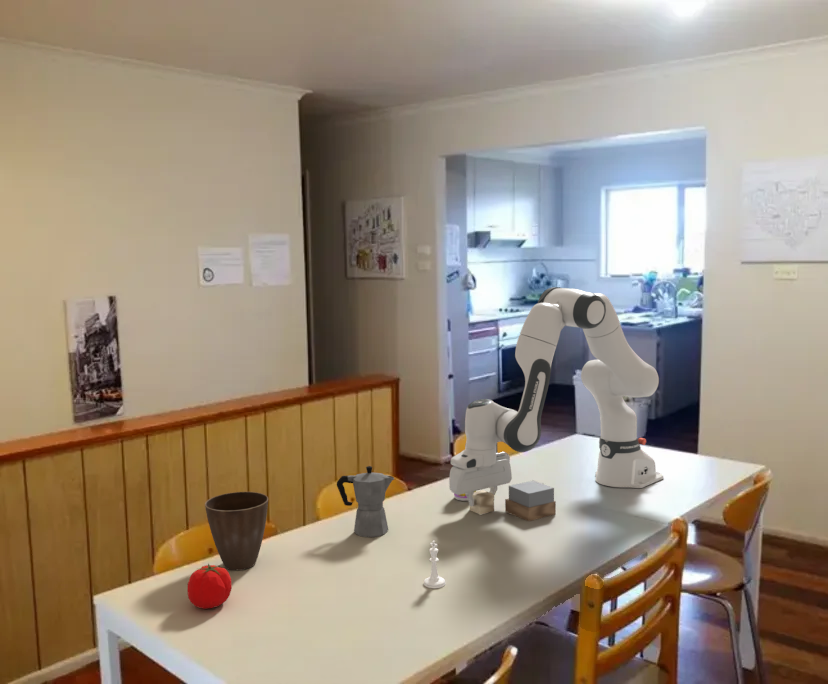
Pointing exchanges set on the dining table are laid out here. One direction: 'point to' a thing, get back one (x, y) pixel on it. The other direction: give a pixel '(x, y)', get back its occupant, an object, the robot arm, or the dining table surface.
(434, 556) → the chess piece
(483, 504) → the birch block
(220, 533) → the plant pot
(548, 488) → the tower top
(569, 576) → the dining table surface
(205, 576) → the tomato
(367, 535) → the coffeepot
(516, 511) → the tower base
